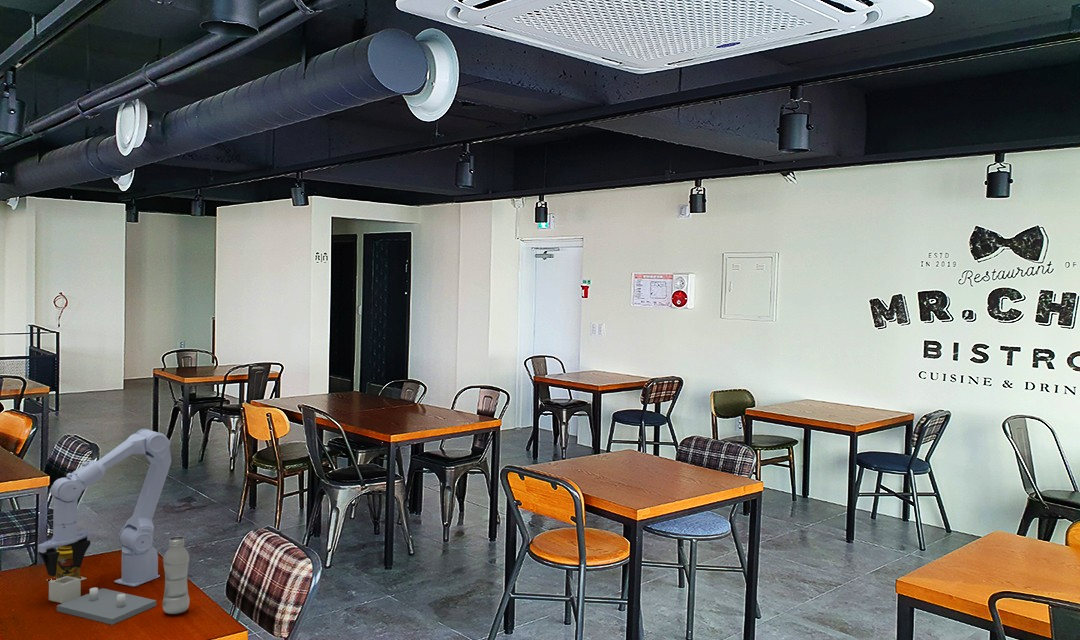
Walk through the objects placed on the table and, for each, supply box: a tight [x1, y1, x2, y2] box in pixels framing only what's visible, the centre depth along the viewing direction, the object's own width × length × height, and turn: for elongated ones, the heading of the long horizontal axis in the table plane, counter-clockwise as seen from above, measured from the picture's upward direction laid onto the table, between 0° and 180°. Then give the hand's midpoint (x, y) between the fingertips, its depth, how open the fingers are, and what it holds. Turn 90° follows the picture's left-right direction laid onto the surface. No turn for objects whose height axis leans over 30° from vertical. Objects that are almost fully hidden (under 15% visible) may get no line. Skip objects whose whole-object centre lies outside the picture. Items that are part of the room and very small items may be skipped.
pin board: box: [56, 587, 157, 626], centre depth 220 cm, size 14×20×4 cm
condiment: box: [46, 544, 87, 582], centre depth 240 cm, size 7×8×12 cm
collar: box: [48, 576, 82, 604], centre depth 226 cm, size 5×5×5 cm
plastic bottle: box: [161, 536, 191, 615], centre depth 219 cm, size 6×7×20 cm
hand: (64, 571), depth 226 cm, fingers open, 7 cm apart
